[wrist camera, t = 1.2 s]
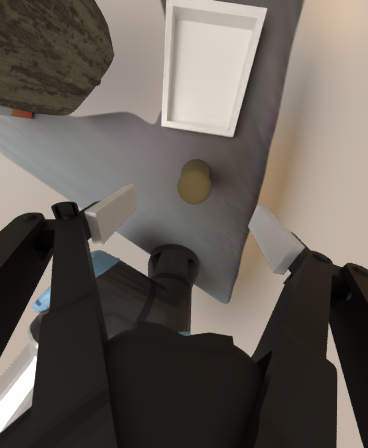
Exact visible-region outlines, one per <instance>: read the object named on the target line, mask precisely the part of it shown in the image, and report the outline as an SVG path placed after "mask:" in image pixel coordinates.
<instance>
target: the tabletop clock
mask: <svg viewBox="0 0 368 448" xmlns="http://www.w3.org/2000/svg"><path fill="white" fill-rule="evenodd" d="M113 57H114V52H113V47H112V42H111V37H110V33H109V29H108V25H107V23H106V21H105V18H104V16H103V14H102V12H101V10H100V9H99V7H98V5H97V4H96V2H95V0H0V106H2V107H7V108H12V109H17V110H21V111H26V112H31V113H39V114H48V115H69V114H71V113H72V112H74V111H75V110H76V109H77V108H78V107H79V106H80V105H81V103H82V102H83V101H84V100H85V98H86V97H87V96H88V95H89V94H90V93H91V92H92V90H93V89H94V88H95V86H96V85H97V86H98V85H99V84H100V83H101V78H102V76H103V75H104V74H105V72H106V71H107V70H108V68H109V66H110V64H111V62H112V60H113Z"/></svg>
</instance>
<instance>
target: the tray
mask: <svg viewBox="0 0 368 448" xmlns="http://www.w3.org/2000/svg"><path fill="white" fill-rule="evenodd" d="M266 11H267V8H261V7H254V6H247V5H240V4H234V3H227V2H220V1H213V0H166V24H165V49H164V74H163V99H162V125H161V126H163V127H166V128H173V129H179V130H186V131H192V132H199V133H205V134H212V135H218V136H225V137H233V135H234V131H235V128H236V124H237V120H238V116H239V112H240V109H241V105H242V101H243V97H244V94H245V90H246V86H247V82H248V79H249V75H250V71H251V67H252V64H253V60H254V56H255V52H256V49H257V45H258V41H259V37H260V34H261V30H262V26H263V22H264V19H265V15H266Z"/></svg>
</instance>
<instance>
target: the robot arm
mask: <svg viewBox="0 0 368 448" xmlns="http://www.w3.org/2000/svg"><path fill="white" fill-rule="evenodd" d="M51 208H52V211H53V213H54V216H55V218H56V219H45V217H44V215H43V214H42V213H27V214H26V213H25V214H23V215H20V216H18V217H16V218H15V219H14V220H13V221H12V222H10V223H9V224H8V225H7V226H6V227H5V228H4V229H2V230H1V231H0V357H1V355H2V353H3V351H4V349H5V347H6V345H7V343H8V341H9V339H10V337H11V335H12V333H13V331H14V329H15V328H16V326H17V324H18V322H19V320H20V318H21V316H22V314H23V312H24V310H25V308H26V306H27V304H28V302H29V300H30V298H31V296H32V294H33V292H34V291H35V289H36V287H37V285H38V283H39V281H40V279H41V277H42V275H43V273H44V271H45V269H46V267H47V265H48V263H49V261H50V259H51V257H52V255H53V264H52V279H51V286H50V287H49V288H48V289H47V290H46V291H45V292H44V293H43V294H42V295H41V296H40V297H39V298H38V299H37V300H36V301H35V302H34V303H33V306H32V307H33V309H34V310H35V312H37V313H38V312H40V314H39V315H38V316H37V317H36V318H35V319H34V321H33V322H32V323H31V324H30V325H29V328H28V335H29V344H28V345H27V346H26V347H25V348H24V350H23V351H22V352H21V353H20V355H19V356H18V357H17V358H16V359H15V360H14V362H13V363H12V364H11V365H10V367H9V368H8V369H7V370H6V372H5V373H4V374H3V375H2V376H1V378H0V448H336V440H337V439H336V437H337V371H336V367H335V366H334V365H333V364H332V363H331V362H330V361H329V360H327V359H326V352H327V337H328V324H330V327H331V331H332V335H333V338H334V342H335V345H336V349H337V353H338V356H339V360H340V363H341V367H342V371H343V375H344V378H345V382H346V386H347V389H348V393H349V396H350V400H351V404H352V407H353V411H354V415H355V418H356V421H357V425H358V429H359V433H360V436H361V440H362V443H363V446H364V448H368V269H366V268H364V267H362V266H359V265H356V264H353V263H347V264H346V265H345V266H344V267H339V266H336V265H334V264H333V263H332V261H331V260H330V259H329V258H328V257H326V256H325V255H323V254H321V253H318V252H316V251H311V250H310V249H309V248H308V247H307V246H306V245H305V244H304V243H303V242H301V240H300V239H298V237H297V236H296V235H295V234H293V233H292V232H290V231H289V230H288V229H287V228H286V227H285V226H284V225H283V224H282V223H281V222H280V221H279V220H278V219H277V218H276V217H275V216H274V215H273V214H272V213H271V211H270V210H268V209H267V207H265V206H264V205H257V207H256V209H255V211H254V214H253V216H252V218H251V221H250V223H249V225H248V227H249V229H250V231H251V233H252V235H253V236H254V238H255V240H256V242H257V244H258V246H259V247H260V249H261V251H262V253H263V255H264V256H265V258H266V260H267V262H268V264H269V265H270V267H271V269H272V271H273V273H277V274H283V275H284V274H285V272H286V271H287V270H288V269H289V271H290V272H291V274H290V276H289V277H288V278H287V279H286V280H285V282H284V283H283V284H285V286H284V288H283V290H282V292H281V295H280V297H279V299H278V301H277V304H276V306H275V308H274V310H273V312H272V315H271V317H270V319H269V321H268V324H267V326H266V328H265V330H264V332H263V335H262V337H261V339H260V341H259V344H258V346H257V348H256V350H255V352H254V354H253V355H252V357H249V355H248V354H246V353H245V352H244V351H243V350H241V349H240V348H238V347H237V346H235V345H234V343H233V337H232V336H227V335H220V334H215V333H202V334H195V335H191V334H190V325H191V324H190V323H191V292H192V291H191V290H192V286H193V284H194V282H195V279H196V277H197V275H198V270H199V263H198V259H197V257H196V255H195V254H194V253H193V252H192V251H191V250H189V249H187V248H185V247H183V246H180V245H174V244H168V245H163V246H160V247H158V248H157V249H155V250H154V251H153V252H152V254H151V256H150V259H149V262H148V277H147V276H146V275H144V274H142V273H141V272H139V271H137V270H136V269H134V268H132V267H131V266H129V265H127V264H126V263H124V262H123V261H121V260H120V259H119V258H115V257H114V256H112V255H110V254H108V253H106V252H104V251H101V250H97V251H93V252H91V253H90V248H89V243H88V239H90V238H92V242H93V243H94V244H101V245H103V244H104V243H105V242H106V241H107V240H108V239H109V237H110V236H111V235H112V234H113V233H114V232H115V231H116V230H117V229H118V228H119V227H120V225H121V224H122V223H123V222H124V221H125V220H126V219H127V218H128V217H129V216H130V215H131V213H132V212H133V211H134V210H135V209H136V198H135V185H131V184H127V185H125V186H124V187H122V188H120V189H119V190H117V191H116V192H114V193H112V194H111V195H109V196H108V197H106V198H105V199H103V200H101V201H97V202H94V203H93V204H91V205H89V206H88V207H87V208H85V209H83V210H81V211H80V212H79V209H78V206H77V204H76V203H75V202H60V203H56V204H54V205H52V207H51Z"/></svg>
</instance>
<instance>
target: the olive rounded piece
mask: <svg viewBox="0 0 368 448" xmlns="http://www.w3.org/2000/svg"><path fill="white" fill-rule="evenodd" d="M181 174H182V177H181V178H180V180H179V183H178V192H179V195H180V197H181V198H182V199H183V200H184V201H185V202H187V203H190V204H199V203H202V202H203V201H205V200H206V199H207V198H208V196H209V195H210V192H211V182H210V179H209V178H210V170H209V167H208V166H207V164H206V163H205V162H203V161H201V160H198V159H196V160H191V161H189V162H187V163H186V164H185V165H184V167H183V169H182V173H181Z"/></svg>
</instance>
